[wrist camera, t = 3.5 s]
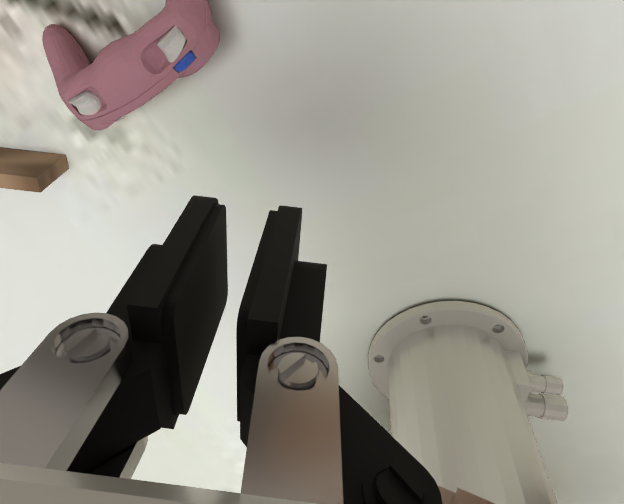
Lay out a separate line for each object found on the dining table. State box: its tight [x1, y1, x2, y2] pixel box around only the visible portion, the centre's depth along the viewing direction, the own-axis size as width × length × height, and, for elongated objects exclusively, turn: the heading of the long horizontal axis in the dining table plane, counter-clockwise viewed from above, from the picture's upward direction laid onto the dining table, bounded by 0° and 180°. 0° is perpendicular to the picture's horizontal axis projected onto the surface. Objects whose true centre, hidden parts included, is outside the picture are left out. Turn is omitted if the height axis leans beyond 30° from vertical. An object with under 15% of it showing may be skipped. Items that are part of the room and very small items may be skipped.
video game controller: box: [42, 0, 220, 130], centre depth 25 cm, size 10×5×7 cm, turn 120°
